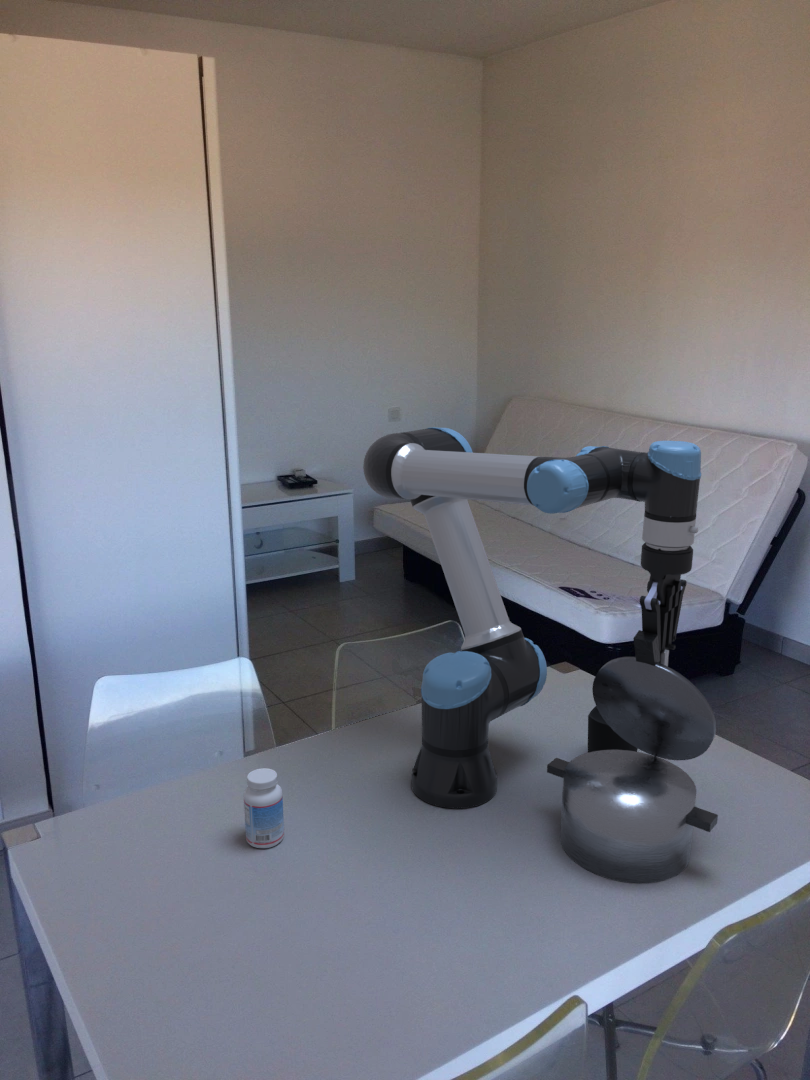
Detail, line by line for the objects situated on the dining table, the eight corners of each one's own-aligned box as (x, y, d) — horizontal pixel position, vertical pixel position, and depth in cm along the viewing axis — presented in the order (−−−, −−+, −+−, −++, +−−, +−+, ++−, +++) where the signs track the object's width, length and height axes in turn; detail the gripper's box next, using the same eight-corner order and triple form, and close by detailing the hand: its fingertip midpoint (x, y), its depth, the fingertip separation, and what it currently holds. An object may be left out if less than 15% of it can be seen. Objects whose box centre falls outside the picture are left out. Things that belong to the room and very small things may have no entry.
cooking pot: (517, 840, 140) (520, 778, 137) (577, 788, 155) (581, 732, 152) (682, 911, 123) (688, 842, 120) (731, 846, 138) (738, 783, 136)
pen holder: (647, 770, 161) (651, 720, 158) (604, 780, 158) (608, 730, 155) (617, 747, 169) (620, 700, 167) (575, 756, 166) (578, 708, 163)
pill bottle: (291, 833, 141) (289, 770, 139) (270, 853, 136) (267, 789, 133) (259, 824, 144) (257, 762, 141) (238, 844, 139) (234, 780, 136)
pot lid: (582, 626, 137) (590, 615, 139) (599, 738, 150) (607, 727, 151) (708, 657, 125) (715, 645, 127) (716, 776, 138) (722, 763, 139)
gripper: (675, 558, 126) (662, 708, 132) (707, 539, 136) (693, 680, 142) (626, 549, 130) (615, 695, 136) (660, 532, 140) (649, 669, 146)
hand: (655, 687), depth 139 cm, fingers closed
